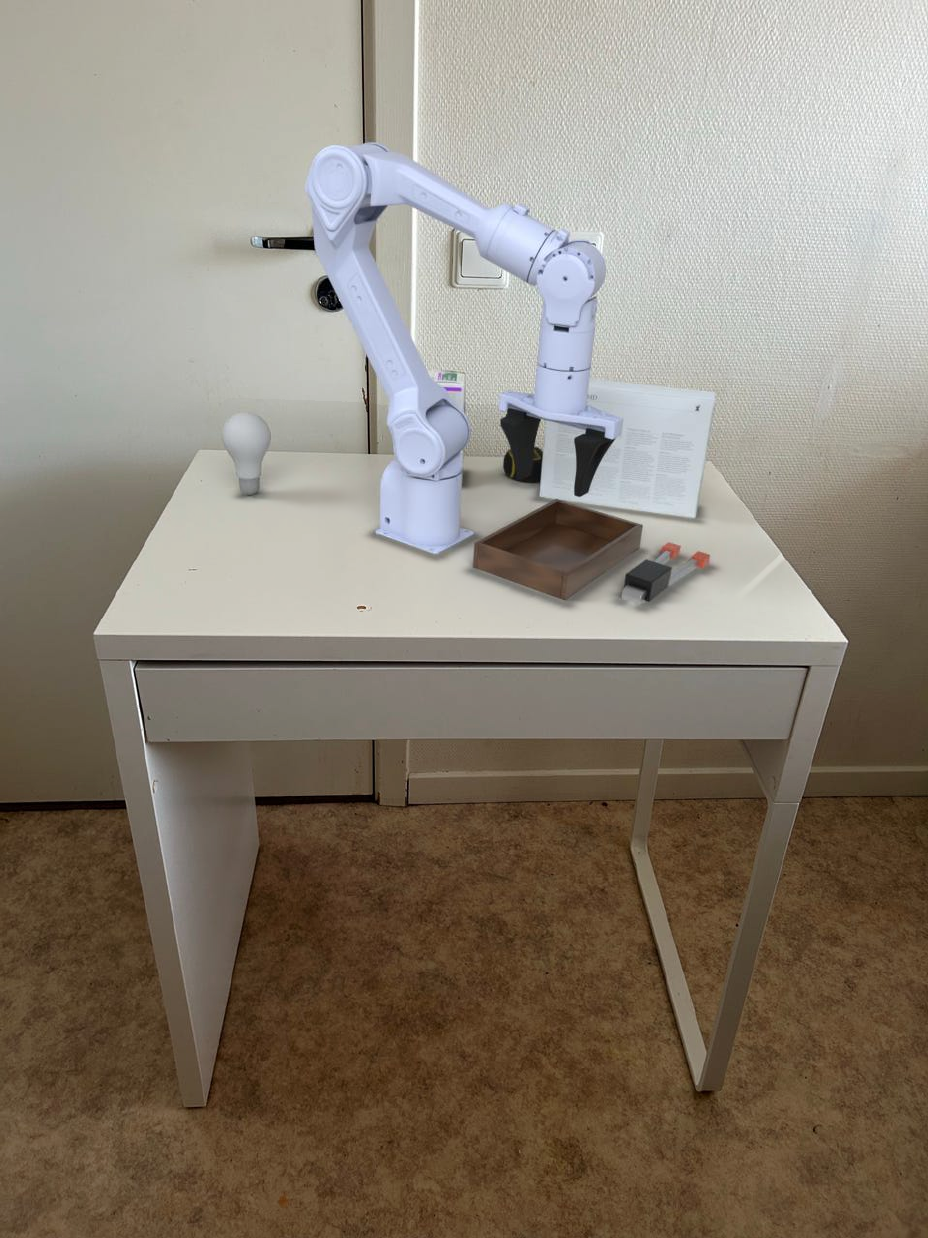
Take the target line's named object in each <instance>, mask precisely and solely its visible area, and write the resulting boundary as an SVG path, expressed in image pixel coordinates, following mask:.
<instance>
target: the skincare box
mask: <svg viewBox="0 0 928 1238" xmlns="http://www.w3.org/2000/svg"><path fill="white" fill-rule="evenodd" d="M716 398H717V392H716V391H712V390H700V389H693V388H683V387H675V386H664V385H655V384H647V383H636V382H627V381H618V380H608V379H607V380H606V379H597V378H590V379H589V388H588V397H587V405H590V406H592V407H594V408H597V409H599V410H602V411H604V412H606V413H609V414H612V415H614V416H618V417H622V418H624V419H623V426H622V434H621V436H619V437H617V438H616V439H615V440H614V442H613V443H612V444H611V446H610V447H609V449H608V450H607V452H606V453H605V455H604V457H603V458H602V460H601V462H600V464H599V466H598V468H597V470H596V472H595V475H594V477H593V480H592V483H591V486H590V489H589V492H588V493H587V494H585V495H583V496H581V497H577V496H574V484H575V476H576V450H575V443H574V438H575V437H577V436H579V435H582V434H585V432H586V430H582V429H578V428H574V427H570V426H566V425H562V424H559V423H555V422H551V421H547V420H545V427H544V435H543V436H544V437H543V447H542V451H543V460H542V471H541V481H540V483H539V484H540V485H539V494H538V497H541V498H548V499H553V500H555V499H558V500H562V501H567V502H575V503H583V504H589V505H590V504H591V505H598V506H605V507H610V508H611V507H612V508H619V509H626V510H634V511H641V512H649V513H656V514H664V515H670V516H678V517H685V518H692V519H696V518H697V513H698V508H699V502H700V497H701V490H702V485H703V479H704V472H705V468H706V467H705V466H706V461H707V455H708V450H709V449H708V448H709V443H710V436H711V431H712V424H713V417H714V411H715V405H716Z"/></svg>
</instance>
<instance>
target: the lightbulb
mask: <svg viewBox="0 0 928 1238" xmlns="http://www.w3.org/2000/svg"><path fill="white" fill-rule="evenodd" d="M221 440H222V444H223V447H224V448H225V450H226V452H227V453H228V455H229V456H230V458H231V459H232V462H233V464H234V467H235V474H236V476H237V477H238V485H239V490H240V492H241V493H243V494H245V495H247V496H253V495H255V493H257V492H259V490H260V485H261V484H260V481H261V479H260V478H261V477H260V476H261V475H262V464H263V461H264V457H265V455H266V454H267V452H268V450H269V447H270V445H271V440H272V434H271V430H270V428H269V425H268V423H267V422H266V421H265V420H264V418H263V417H261V416H260V415H258V414H256V413H253V412H251V411H240V412H237V413H234V414H233V415H231V416H229V417H228V418H227V420H226V421H225V422H224V424H223V426H222V430H221Z"/></svg>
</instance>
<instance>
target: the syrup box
mask: <svg viewBox="0 0 928 1238" xmlns="http://www.w3.org/2000/svg"><path fill="white" fill-rule="evenodd" d="M427 371H428V373H429V375H430V378H431V379H432V380H433V381H435V382H436V383H438V384H439V385H441V386H442V387H443V388H445V389H446V390H447V392H448V395H449V397H450V398H451V400H452V401H453V403H454V404H455V405H456V406H458V407H459V408H460V409H461V410H462V411H463V412H464V413H465V414H466V392H467V391H466V389H467V388H466V386H467V385H466V384H467V374H466V372H463V371H456V370H447V369H446V370H443V369H442V370H438V369H437V370H427ZM460 452H461V455H460V457H461V461H462V464H463V465H464V463H465V462H464V460H465V448H464V449H463V450H461V451H460ZM463 478H464V469H463V470H462V481H463Z"/></svg>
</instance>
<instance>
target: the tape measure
mask: <svg viewBox="0 0 928 1238" xmlns="http://www.w3.org/2000/svg"><path fill="white" fill-rule="evenodd" d="M542 460H543V449H541V448H540V447H538V446H534V457H533V467H532V472H531V475H530V476H528V477H526V478H524V479H522V480H520V479H517V477H516V471H515V465H514V460H513V455H512V451H511V448H509V449H508V450H507V451H506V452H505V455H504V456H503V461H502V467H503V471H504V473H505V475H506V476H507V477H509V478H511V479H513V480H515V481H519V482H524V483H537V482H541V471H542Z"/></svg>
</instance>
